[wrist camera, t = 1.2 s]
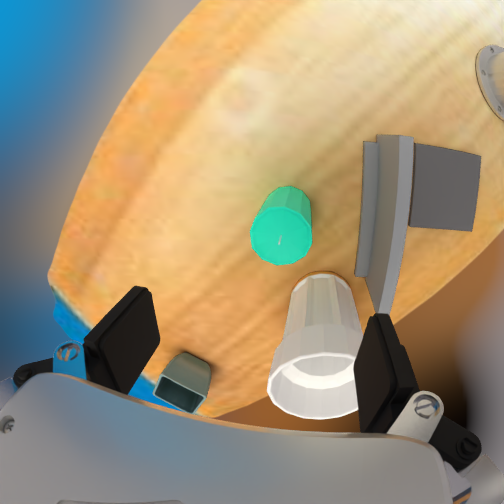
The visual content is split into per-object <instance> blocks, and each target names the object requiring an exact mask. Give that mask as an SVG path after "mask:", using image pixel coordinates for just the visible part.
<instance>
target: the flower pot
mask: <svg viewBox="0 0 504 504" xmlns="http://www.w3.org/2000/svg"><path fill="white" fill-rule="evenodd" d="M210 382H211V370H210V367H209V365H208V363H206V362H204V361H202V360H200V359H198V358H196V357H194V356H192V355H190V354H189V353H182V354H179V355H177V356H176V357H174V358H173V359H172V360H171V361H170V363H169V364H168V365H167V367H166V368H165V369H164V370H163V372H162V373H161V374H160V376H159V379H158V381H157V384H156V386H155V389H154V391H153V395H154V396H156V397H157V398H159V399H161V400H163V401H165V402H167V403H169V404H171V405H173V406H175V407H177V408H179V409H180V410H182V411H185V412H186V413H189V414H193V415H194V414H195V412H196V411H197V410H198V408H199V407H200V406H201V404H202V403H203V402H204V401H205V400H206V398H207V394H208V390H209V386H210Z"/></svg>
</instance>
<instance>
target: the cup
mask: <svg viewBox="0 0 504 504" xmlns="http://www.w3.org/2000/svg"><path fill="white" fill-rule="evenodd" d="M362 339H363V333H362V329H361V325H360V321H359V317H358V314H357V310H356V306H355V302H354V299H353V295H352V292H351V288H350V286H349V284H348V283H347V282H346V281H345V279H344V278H342V277H341V276H339V275H337V274H335V273H333V272H327V271H318V272H313V273H309V274H307V275H306V276H304V277H303V278H301V279H300V280H299V281H298V282H297V283H296V285H295V286H294V288H293V289H292V294H291V299H290V305H289V310H288V315H287V320H286V326H285V331H284V336H283V341H282V342H281V343H280V344H279V346H278V347H277V348H276V349H275V353H274V358H273V362H272V366H271V370H270V374H269V378H268V386H267V392H268V394H269V396H270V398H271V400H272V402H273V403H274V404H275V405H276V406H278V407H279V408H281V409H282V410H283V411H285V412H286V413H289V414H292V415H295V416H298V417H301V418H309V419H329V418H336V417H341V416H344V415H346V414H349V413H351V412H354V411H356V410H358V403H357V394H356V386H355V378H354V371H353V366H354V361H355V359H356V356H357V353H358V350H359V348H360V345H361V342H362Z"/></svg>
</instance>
